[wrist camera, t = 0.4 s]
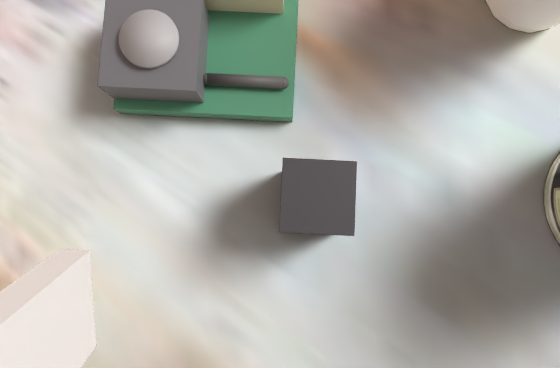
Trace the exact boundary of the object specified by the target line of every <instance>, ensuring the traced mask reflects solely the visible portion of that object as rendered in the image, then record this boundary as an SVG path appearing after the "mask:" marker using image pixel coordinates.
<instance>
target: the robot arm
mask: <svg viewBox="0 0 560 368" xmlns="http://www.w3.org/2000/svg"><path fill="white" fill-rule="evenodd" d="M96 346H97V344H96V330H95V317H94V304H93V290H92V277H91V264H90V251H87V250H67V249H59V250H57V251H56V252H55V253H53V254H52V255H50V256H49V257H48V258H46V259H45V260H43V261H42V262H41V263H39V264H38V265H36V266H35V267H34V268H32V269H31V270H30V271H28V272H27V273H25V274H24V275H23V276H21V277H20V278H18V279H17V280H16V281H14V282H13V283H11V284H10V285H9V286H7V287H6V288H4V289H3V290H2V291H0V368H81V366H82V365H83V364H84V362H85V361H86V360H87V358H88V357H89V355H90V354H91V353H92V351H93V350H94V349H95V347H96Z"/></svg>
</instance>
